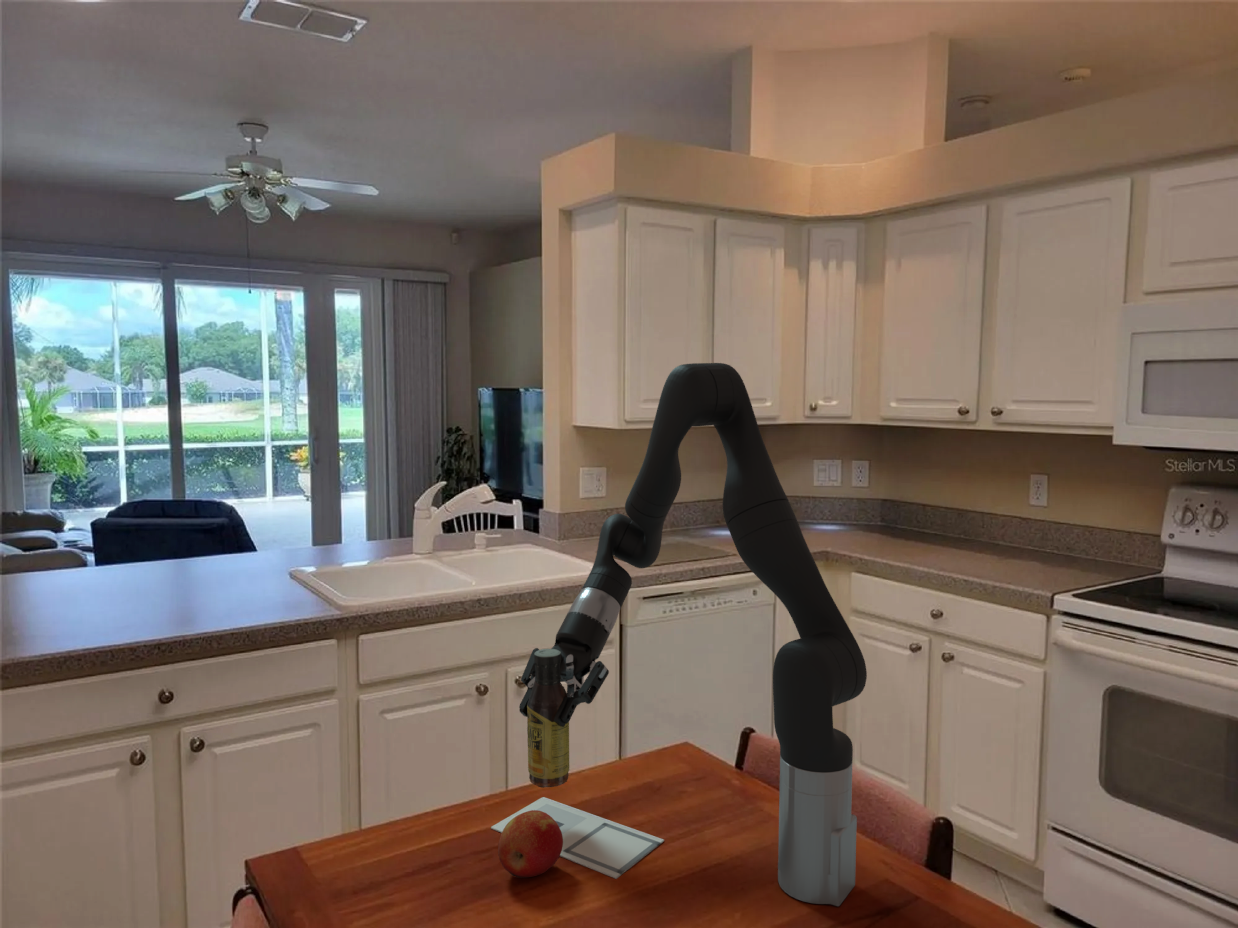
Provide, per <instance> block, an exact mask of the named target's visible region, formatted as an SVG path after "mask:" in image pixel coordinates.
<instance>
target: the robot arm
mask: <svg viewBox="0 0 1238 928" xmlns="http://www.w3.org/2000/svg"><path fill="white" fill-rule="evenodd" d="M707 426H708V427H709V426H710V427H711V426H713V427H714V428H715V430H716V432H717V434H718V437H719V438H720V441H721V444H722V446H723V449H724V452H725V456H726V465H727V466H726V467H727V468H726V475H725V481H724V487H723V488H724V489H723V494H722V495H723V496H722V513H723V518H724V521H725V525H726V526H727V529H728V531H729V533H730V536H731V539H732V541H733V543H734V545H735V546H734V547H735V549H736V551H737V553H738V556H739V557H740V558H741V561H743V563H744V564H745V565H746V566H747V568H748V569H749V570H750V571H751V572H752V573H753V574H754V575H755V577H757V578H758V579H759V580H760V581H761V582H762V583H763V584H764V585H765V586H766V587H767V588H768V589H769V590H771V592H772V593H773V594H774V595H775V596H776V597H777V598H778V599H779V600H780V602H781V603H782V604H783V606H784V608H785V609H786V611H787V612H788V613H789V616H790V618H791V619H792V621H793V623H794V625H795V628H796V631H797V633H798V635H799V638H798V639H794V640H791V641H789V642H786V643H784V644H783V645H781V647H780V648H779V650H778V651H777V653H776V656H775V659H774V662H773V668H772V694H773V695H772V696H773V697H772V699H773V702H772V703H773V723H774V729H775V731H774V732H775V734H776V737H777V740H778V743H779V750H780V751H779V793H778V794H779V797H778V798H779V800H778V801H779V803H778V804H779V805H778V807H779V808H778V846H777V847H778V855H777V857H778V859H777V860H778V861H777V869H778V870H777V882H778V885H779V888H781V890H782V891H783V892H784V893H786V894H787V895H788V896H790V897H792V898H794V899H796V900H799V901H802V902H804V903H810V904H816V905H832V906H834V907H840V906H841V905H842V903H843V902H844V901H845V900H846V898H847V897H848V895H849V894H850V892H851V891H852V890H853V889H854V888H855V886H856V868H857V867H856V864H857V863H856V861H857V860H856V859H857V858H856V857H857V853H856V852H857V824H858V823H857V822H858V819H857V816H856V815H855V814H854V813H853V814H852V804H853V803H852V801H853V800H852V797H853V796H852V795H853V794H852V793H853V791H852V790H853V759H854V758H853V757H854V755H853V753H854V751H853V750H854V749H853V742H852V739H851V738H850V736H848V735H847V733H845V732H843V731H841V730H839V729H837V728H834V718H833V717H834V716H833V707H835V706H837V705H840V704H843V703H844V704H845V703H846V702H849V701H851V700H853V699H856V698H857V697H858V696H859V695H861V693H862V692H863V691H864V688H865V687H866V682H867V678H868V677H867V676H868V675H867V673H868V672H867V666H866V661H865V659H864V655H863V653H862V650H861V648H860V646H859V644H858V642H857V640H856V638H855V636H854V634H853V632H852V631H851V629H850V628H849V625H848V624H847V622H846V620H845V618H844V616H843V615H842V613H841V611H840V609H839V608H838V605H837V604H836V602H835V600H834V599H833V596H832V595H831V593H830V591H829V589H828V587H827V585H826V583H825V581H824V578H823V577H822V575H821V572H820V570H819V568H818V565H817V564H816V563H817V562H815V559H814V557H813V555H812V552H811V550H810V548H809V546H808V544H807V542H806V539H805V537H804V534H803V532H802V529H801V526H800V524H799V522H798V519H797V517H796V514H795V512H794V510H793V507H792V505H791V502H790V501H789V498H788V496H787V494H786V492H785V490H784V489H783V486H782V484H781V482H780V480H779V478H778V475H777V472H776V470H775V467H774V464H773V463H772V460H771V458H770V455H769V452H768V449H767V447H766V445H765V441H764V439H763V437H762V434H761V433H762V432H761V430H760V428H759V424H758V421H757V418H756V415H755V412H754V408H753V405H752V402H751V399H750V396H749V393H748V391H747V387H746V384H745V383H744V380H743V377H741V374H740V373H739V372H738V371H737V370H736V368H735V367H733V366H732V365H731V364H726V363H724V362H723V363H722V362H704V363H703V362H698V363H697V362H696V363H695V362H694V363H684V364H680V365H677V366H675V368H673V369H672V370H671V372H670V373H669V374H668V375H667V378H666V380H665V382H664V385H663V387H662V390H661V393H660V397H659V401H658V404H657V409H656V412H655V417H654V421H653V424H652V429H651V433H650V437H649V441H648V445H647V449H646V452H645V456H644V458H643V462H642V465H641V467H640V469H639V472H638V475H637V477H636V478H635V480H634V483H633V485H632V487H631V489H630V491H629V494H628V495H627V499H626V500H625V504H624V508H625V509H624V511H625V513H626V515H624V514H623V513H615V514H612V515H610V516H608V518H606V519H605V521H604V522H603V524H602V527H601V529H600V533H599V538H598V543H597V551H596V555H595V559H594V561H593V562H594V563H593V565H592V568H591V570H590V571H589V574H588V576H587V578H586V581H585V582H584V584H583V586H582V588H581V590H579V593H578V595H577V596H576V597H575V599H574V600H573V602H572V604H571V606H570V607H569V609H568V611H567V613H566V615H565V617H564V619H563V622H562V623H561V625H560V627H559V629H558V630H557V632H556V635H555V639H554V640H555V641H554V645H553V646H552V647H551V648H550V649H556V650H559V651H560V652H561V662H560V676H561V679H560V682H561V683H566V692H567V696H568V697H567V698H565V697H564V699H563V701H562V703H561V705H560V707H559V709H558V711H557V713H556V715H555V717H554V721H555V722H556V723H557V725H558V726H561V727H564V726H565V724H567V723H568V722H569V723H570V720H571V719H572V717H573V715H574V712H575V710H576V709H577V706H579V705H580V704H582V703H585V704H587V705H590V704H591V703H592V702H593V700H594V699H595V697H596V696H597V694H598V692H599V690H600V689H601V687H602V685H603V684H604V682H605V681H606V679H607V677H608V676H609V673H610V671H609V669H608V668H607V666H606V665H605V664H604V663H603V662H602V661H601V660H598V659H599V658H600V656H601V654H602V651H603V649H604V647H605V645H606V644H607V642H608V639H609V637H610V635H611V633H612V631H613V629H614V626H615V625H616V622H617V620H618V616H619V613H620V611H621V609H622V606H623V605H624V602H625V600H626V598H627V596H628V593H629V591H630V590H631V587H632V584H633V580H632V576H631V575H630V574H629V572H628V571H627V570H626V569H625V568H623V566H622V565H620V564H619V563H618V562H617V561H616V560H615V559H614V557H615V558H616V559H619V560H620V561H623V562H624V563H627V564H629V565H630V566H632V567H635V568H638V569H646V568H648V567H650V566H652V565H653V564H654V563H655V562H656V560H657V558H658V556H659V555H660V551H661V547H662V539H663V528H664V526H665V520H666V518H667V515H668V514H669V511H670V510H671V507H672V505H673V504H674V502H675V500H676V498H677V495H678V494H679V491H680V488H681V483H682V469H681V463H680V459H679V448H680V446H681V443H682V441H683V440H684V438H685V437H686V435H687V433H688V432H689V431H690V430H691V428H692V427H707ZM538 650H540V649H539V647H535V648H534V649H533V650H532V651H531V654H530V656H529V659H528V661H527V663H526V666H525V668H524V670H523V673H522V676H521V678H520V681H521V682H522V683H523V685H525V686H526V687H527V689H526V692H525V693H524V696H523V697H522V699H521V701H520V703H519V707H518V708H519V713H520V714H521V715H522V716H523V717H525V718H527V704H528V700H529V697H530V694H531V691H532V688H533V684H534V681H535V663H534V653H535V652H536V651H538ZM596 660H598V661H596ZM587 674H588V676H587V677H586V678H584V677H585V676H586V675H587ZM584 679H585V680H584Z"/></svg>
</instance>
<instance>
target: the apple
mask: <svg viewBox="0 0 1238 928" xmlns="http://www.w3.org/2000/svg"><path fill="white" fill-rule="evenodd" d="M562 847H563V836H562V832H561V830H560V828H559V826H558V824H557V823H556V822H555V820H554V819H553V818H552V817H551V816H549V815H548V814H547V813H545V812H542V811H539V810H531V811H527V812H524V813H522V814H519V815H517V816H516V817H514V818H513V819H512V820H511V821H509V822H508V824H507V825H506V826H505V828H504V829H503V832H502V833H501V834H500V836H499V841H498V848H497V850H498V851H497V853H498V859H499V861H500V864H501V866H502V867H503V869H505V871H507V873H509V874H510V875H511V876H513V877H515V878H518V879H528V878H532V877H536V876H540V875H542V874H543V873H545V872H546V871H548V870H549V869H550V868H552V867H553V866H554V865H555V863H556V862H557V861H558V860H559V858H560V854H561V851H562Z"/></svg>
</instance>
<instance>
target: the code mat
mask: <svg viewBox="0 0 1238 928" xmlns="http://www.w3.org/2000/svg"><path fill="white" fill-rule="evenodd" d="M531 810H539V811H542V812H545V813H547V814H548V815H549V816H551V817H552V818H553V819H554V820H555V822H556V823H557V824H558V826H559V828H560V830H561V832H562V836H563V847H562V851H561V854H560V856H559V858H560V857H561V858H563V859H566V860H569V861H570V862H573V863H576V864H578V865H581V866H583V867H585V868H589V869H591V870H593V871H595V872H598V873H601V874H603V875H605V876H608V877H611V878H613V879H616V880H617V879H618V878H619V877H620V876H623V874H625V872H627V871H628V870H629V869H631V868H633V866H635V865H636V864H637V863H639V862H640V861H641V860H642V859H644V858H645V856H647V855H648V854H650V853H651V852H653V850H654V849H656V848H657V847H659V846H660V845H661V844H663V842H665V839H663V838H660V837H658V836H654V835H652V834H649V833H647V832H644V831H641V830H637V829H635V828H633V827H630V826H626V825H624V824H621V823H618V822H616V821H612V820H609V819H606V818H604V817H602V816H598V815H595V814H592V813H590V812H588V811H584V810H582V809H578V808H575V807H573V806H570V805H567V804H565V803H561V802H559V801H556V800H553V799H550V798H548V797H545V796H543V797H540V798H538V799H537V800H535V801H533V802H532V803H530V804H528V805H527V806H524V807H523V808H521V809H520V810H518V811H516V812H515V813H513V814H511V815H509V816H508V817H506V818H504V819H502V820H500V821H499V822H497V823H496V824H494V825H491V826H490V829H491V830H493V831H496V832H499V833H501V834H502V832H503V829H504V828H505V826H506V825H507V824H508V822H509V821H511V820H512V819H513V818H514V817H516V816H517V815H519V814H522V813H524V812H527V811H531Z"/></svg>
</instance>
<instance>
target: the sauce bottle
mask: <svg viewBox="0 0 1238 928" xmlns="http://www.w3.org/2000/svg"><path fill="white" fill-rule="evenodd" d="M560 662H561V652H560V651H559V650H556V649H551V648H542V649H539V650H538V651H536V652H535V653H534V663H535V681H534V684H533V688H532V691H531V694H530V697H529V700H528V704H527V717H526V718H527V721H526V722H527V723H526V724H527V725H526V727H527V728H526V729H527V770H528V773H529V776H528V777H529V781H530V783H531V784H532V785H533V786H537V787H538V788H542V789H543V788H554V787H559V786H562V785H564V784H565V783H566V782H568V779H569V774H570V773H569V771H570V721H569V722H568V723H567V724H565V726H564V727H561V726H558V725H557V723H556V722H555V721H554V717H555V715H556V713H557V711H558V709H559V707H560V705H561V703H562V701H563V699H564V697H565V698H567V697H568V696H567V690H566V689H565V688H566V687H565V686H563V684H562V682H560V679H561V676H560Z"/></svg>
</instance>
